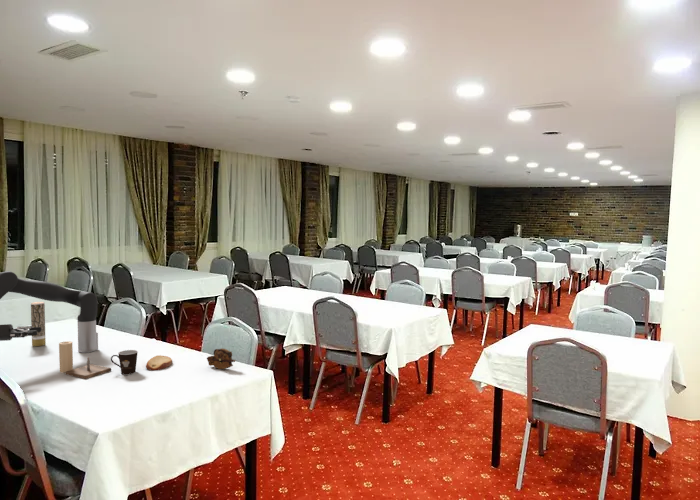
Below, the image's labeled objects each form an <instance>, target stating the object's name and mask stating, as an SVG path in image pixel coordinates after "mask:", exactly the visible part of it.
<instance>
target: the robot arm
mask: <svg viewBox="0 0 700 500" xmlns="http://www.w3.org/2000/svg"><path fill="white" fill-rule="evenodd" d="M8 293H15V294H22V295H25V296H27V297H31V298H35V299H39V300H44V301H49V302H57V303H58V302H59V303H65V304H70V305H72V306H76V307H78V308H80V313H79V315H77V319H76V320H77V349H78V350H77V351H78V352H79V353H91V352H95V351H97V350H98V349H99V332H98V331H97V316H98V297H97V296H96V294H95V293H93V292H89V291H84V290H83V291H82V290H72V289H71V288H70V289H69V288H66V287H63V286H62V285H59V284H55V283H52V282H48V281H44V280H43V281H42V280H32V279H22V278H18V275H17V274H16V273H15V272H12V271H9V270H8V271H2V272H0V300H1V299H2V298H3V297H4V296H5V295H7V294H8ZM37 332H41V327H32V326H31V325H30V326H17V327H16V328H14V326H13V324H0V342H3V341H12V339H13V338H15V339H16V338H23V339H24V338H26V337H32V336H36V335H37Z"/></svg>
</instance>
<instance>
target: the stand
mask: <svg viewBox="0 0 700 500" xmlns="http://www.w3.org/2000/svg"><path fill="white" fill-rule="evenodd" d="M111 371H112V367H108V366H104V365H98V364H93V363H91V361H90V357H87V360H86V365H84V366H80V367H76V368H73V370H69V371H66V373H65V375H66V376H70V377H74V378H75V377H76V378H79V379H84V380H86V379H89V378H93V377H96V376H99V374H100V375H102V374H105V373H108V372H109V373H110V372H111Z"/></svg>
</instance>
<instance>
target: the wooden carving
mask: <svg viewBox="0 0 700 500" xmlns="http://www.w3.org/2000/svg"><path fill="white" fill-rule="evenodd" d="M232 352H233V351H230V350H228V349H226V348H215V349H214V350H213V355H210V356H207V357H206V360H207V362H208V366H211V367H212V366H213V367H215V368H216V369H219V370H224V369H229V368H232V367H233V366H234V365H233V363H235V362H236V359H233V358H232V356H233V353H232Z"/></svg>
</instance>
